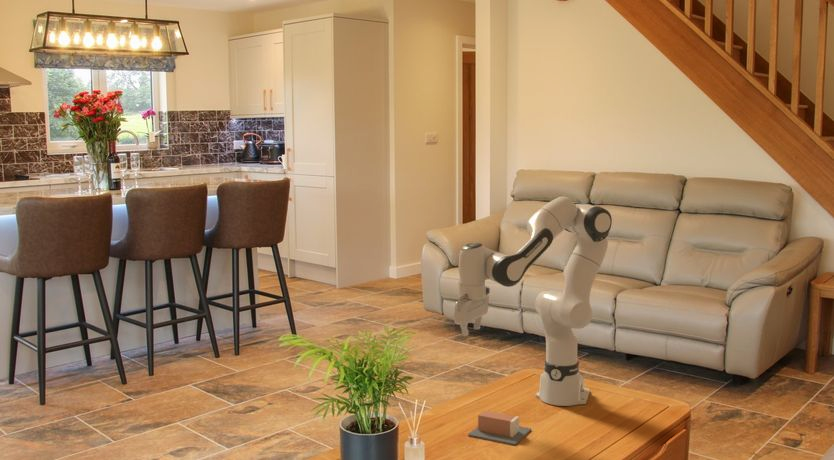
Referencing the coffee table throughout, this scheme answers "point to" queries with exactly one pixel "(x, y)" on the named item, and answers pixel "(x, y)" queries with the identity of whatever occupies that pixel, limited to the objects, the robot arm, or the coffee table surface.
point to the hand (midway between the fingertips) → (471, 332)
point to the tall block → (498, 423)
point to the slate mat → (501, 436)
